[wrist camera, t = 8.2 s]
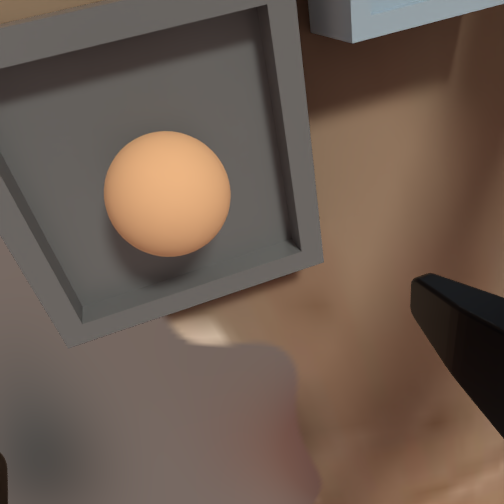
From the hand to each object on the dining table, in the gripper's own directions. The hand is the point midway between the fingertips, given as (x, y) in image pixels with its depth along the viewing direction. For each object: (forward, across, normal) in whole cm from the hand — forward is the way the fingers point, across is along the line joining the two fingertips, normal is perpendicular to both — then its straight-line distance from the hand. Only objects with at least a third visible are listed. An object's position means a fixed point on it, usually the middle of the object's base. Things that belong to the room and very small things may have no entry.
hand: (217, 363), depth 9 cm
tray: (+12, 0, 0) cm, 12 cm away
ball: (+8, 0, 0) cm, 8 cm away
